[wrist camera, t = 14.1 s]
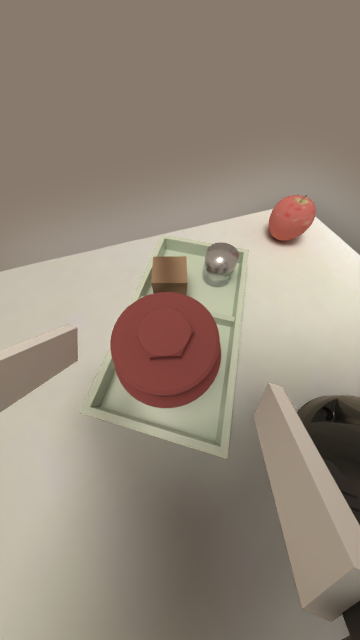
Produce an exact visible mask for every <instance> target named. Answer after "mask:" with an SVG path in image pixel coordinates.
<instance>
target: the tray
mask: <svg viewBox="0 0 360 640" xmlns="http://www.w3.org/2000/svg"><path fill="white" fill-rule="evenodd" d="M211 245H212V244H211V243H205V242H200V241H194V240H188V239H183V238H177V237H172V236H166V235H161V238H160V240H159V242H158V244H157V246H156V248H155V251H154V253H153V255H152V257H151V259H150V262H149V264H148V266H147V268H146V270H145V272H144V275H143V277H142V279H141V281H140V283H139V285H138V288H137V290H136V292H135V294H134V296H133V298H132V301H131V303H130V305H131V304H132V303H133V302H135V301H137V300H138V299H140V298H142V297H144V296H147V295H150V294H153V289H152V285H151V277H152V266H153V257H162V256H186V258H187V296H190V297H192V298H194V299H195V300H197V301H199V302H200V303H201V304H202V305H204V306H205V307H206V308H207V309H208V311H209V312H210V313H211V315H212V316H213V318H214V320H215V322H216V324H217V327H218V330H219V337H220V345H221V363H220V368H219V371H218V374H217V376H216V378H215V380H214V382H213V383H212V385H211V386H210V387H209V389H208V390H207V391H206V392H205V393H204V394H203V395H201V396H200V397H199V398H197V399H196V400H194V401H192V402H191V403H189V404H186V405H183V406H180V407H175V408H157V407H152V406H149V405H146V404H144V403H142V402H140V401H138V400H136V399H135V398H134V397H132V396H131V395H130V394H129V393H128V392H127V391H126V390H125V388H124V387H123V386H122V384H121V383H120V381H119V378H118V376H117V373H116V370H115V365H114V362H113V360H112V355H111V346H110V349H109V351H108V353H107V355H106V357H105V359H104V362H103V364H102V366H101V368H100V370H99V372H98V375H97V377H96V379H95V381H94V383H93V385H92V388H91V390H90V392H89V394H88V396H87V399H86V401H85V403H84V405H83V407H82V409H81V412H80V413H81V414H84V415H87V416H91V417H94V418H97V419H100V420H103V421H107V422H110V423H113V424H116V425H119V426H123V427H126V428H129V429H132V430H135V431H138V432H142V433H145V434H148V435H151V436H154V437H158V438H161V439H164V440H167V441H170V442H174V443H177V444H180V445H183V446H186V447H189V448H193V449H196V450H199V451H202V452H205V453H209V454H212V455H215V456H218V457H221V458H225V459H227V458H228V449H229V439H230V429H231V419H232V409H233V399H234V390H235V380H236V370H237V360H238V350H239V340H240V330H241V321H242V311H243V301H244V291H245V281H246V271H247V262H248V252H249V250H244V249H239V248H236V249H237V251H238V252H239V259H238V262H237V264H236V266H235V269H234V271H233V274H232V276H231V278H230V281H229V283H228V284H227V285H225V286H223V287H212V286H209V285H208V284H206V283H205V282H204V280H203V278H202V273H203V268H204V262H205V257H206V251H207V249H208V247H209V246H211ZM130 305H129V306H130Z"/></svg>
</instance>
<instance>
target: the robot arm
mask: <svg viewBox="0 0 360 640" xmlns="http://www.w3.org/2000/svg"><path fill="white" fill-rule="evenodd" d="M76 361H78V347H77V327H74V326H70V325H66V326H63V327H61V328H58V329H55V330H53V331H50V332H48V333H45V334H42V335H40V336H37V337H35V338H32V339H29V340H27V341H24V342H22V343H19V344H16V345H14V346H11V347H9V348H6V349H3V350H1V351H0V412H1V411H3V410H4V409H6V408H7V407H9V406H10V405H12V404H13V403H15V402H16V401H18V400H19V399H21V398H22V397H24V396H25V395H27V394H28V393H30V392H31V391H33V390H34V389H36V388H37V387H39V386H40V385H42V384H43V383H45V382H46V381H48V380H49V379H51V378H52V377H54V376H55V375H57V374H58V373H60V372H61V371H63V370H64V369H66V368H67V367H69V366H70V365H72V364H73V363H75V362H76ZM253 417H254V421H255V425H256V429H257V433H258V437H259V441H260V445H261V449H262V453H263V457H264V461H265V464H266V468H267V472H268V476H269V480H270V484H271V488H272V492H273V496H274V500H275V504H276V508H277V512H278V516H279V520H280V524H281V527H282V531H283V535H284V539H285V543H286V547H287V551H288V555H289V559H290V563H291V567H292V571H293V575H294V579H295V583H296V587H297V590H298V594H299V598H300V602H301V606H302V609H303V610H306V611H308V612H310V613H312V614H315V615H317V616H319V617H321V618H324V619H326V620H328V621H330V622H331V621H333V620H334V619H336V618H338V617H339V616H341V615H342V614H343V617H344V620H345V623H346V625H347V628H348V631H349V633H350V635H349V636H348V637H346V638H344V639H342V640H360V397H355V396H325V397H320V398H317V399H314V400H312V401H310V402H309V403H307V404H306V405H304V406H303V407H302V408H301V409H300V411H299V412H298V413H296V411H295V409H294V407H293V405H292V404H291V402H290V400H289V398H288V396H287V395H286V393H285V391H284V389H283V388H282V386H279V385H275V384H272V383H268V385H267V387H266V389H265V392H264V394H263V396H262V398H261V400H260V402H259V405H258V407H257V409H256V411H255V413H254V415H253Z"/></svg>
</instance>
